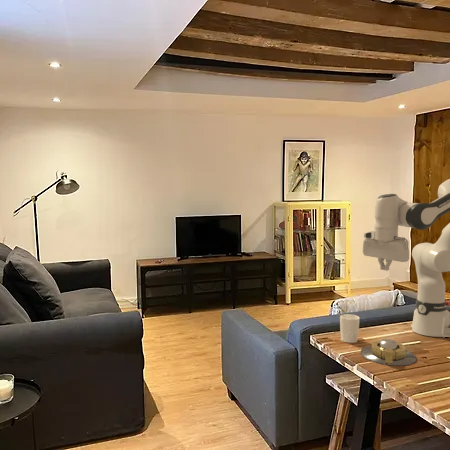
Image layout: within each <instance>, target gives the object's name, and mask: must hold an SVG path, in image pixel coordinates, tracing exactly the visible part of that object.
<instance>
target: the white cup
mask: <svg viewBox="0 0 450 450" xmlns="http://www.w3.org/2000/svg"><path fill="white" fill-rule="evenodd" d="M339 328H340V329H339V330H340V341H341V342H344V343H348V344H353V343H354V344H355V343H357V342H358V339H359V332H360V331H359V330H360V329H359V328H360V316H358V315H356V314H350V313H349V314H348V313H347V314H346V313H345V314H341V315H340V316H339Z"/></svg>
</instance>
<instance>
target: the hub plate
mask: <svg viewBox="0 0 450 450" xmlns="http://www.w3.org/2000/svg"><path fill="white" fill-rule="evenodd" d="M397 343H398V341H396V340H394V339H389V338H384V339H383V338H382V339H380V347H381V348H383V349H385V348H388V349H392V350H395V349H397ZM360 355H361V356H362V357H363V358H365V359H366V360H367V359H368V361H369V362H372V361H373V363H375V362H376V364H379V363H380V365H384V364H385V365H384V366H393V367H394V366H395V367H400V366H401V367H402V366H404V367H405V366H410V365H412V364H415V362H417V356H416V355H415V354H414V353H413V352H411V351H409V350H407V349H406V354H405V358H402V359H398V360H393V361H392V363H385V359H383V358H380V357H377V356H375V355H373V354H372V345H369V346H365V347H363V348H362V349H361V350H360ZM409 364H410V365H409Z"/></svg>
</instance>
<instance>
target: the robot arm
mask: <svg viewBox="0 0 450 450" xmlns="http://www.w3.org/2000/svg"><path fill="white" fill-rule="evenodd" d="M437 196H438V198H436V199H435V200H433V201H432V202H428V203H427V202H408V201H406V200H404V199H402V198H401V197H399V196H398V194H396V193H386V194H381V195H379V196H378V197H377V198H376V201H375V207H374V209H375V210H374V218H375V224H374V229H373V230H371V231H366V232H364V233H363V238H364V239H363V243H362V253H363V255H364V256H365V257H370V258H377V262H378V264H379V265H380V266H379V269H380V270H382V271H386V272H388V271H389V270H390V266H391V265H392V263H393V261H394V262H401V263H406V262H409V260H410V247H409V240H408V239H407V238H406V237H403V236H402V237H401V236H399V226H400V227H404V228H405V227H406V228H412V229H415V230H419V231H424V230H428V229H429V228H430V227H431V226H433V224H435V222H436V221H437V220H438V219H439V218H441V217H442V216H444V215H445V214H448V213H449V212H450V178H449V179H446V180H445V181H443V182H442V183H441V184H440V185H439V186H438V189H437ZM411 257H412V259H413V261H414V264H415V272H416V277H417V298H415V299H416V300H415V307H416V308H415V309H414V311H413V319H412V323H411V324H410V327H411V331H413V332H414V333H416V334H418V335H422V336H425V337H435V338H445V337H450V311H449V310H448V307H450V300H446V281H445V280H444V278H443V274H442V273H447V272H450V222H449V223H448V224H446V226H445V227H444V228H443V229H442V230H441V234H440V236H439V238H438V239H437V241H436V242H435V243H432V242H422V243H418V244H416V245H415V246H414V247H413V248H412V251H411Z"/></svg>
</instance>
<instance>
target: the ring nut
mask: <svg viewBox="0 0 450 450" xmlns="http://www.w3.org/2000/svg"><path fill="white" fill-rule="evenodd" d="M380 340H381V339H380ZM380 340H379V339H378V340H375V341H371V346H372V354H373V355H375V356H377V357H380V358H383V359H385V363H392V361H393V360H398V359H402V358H405V354H406V350H407V349H406V345H405V344H403V343H400V342H397V349H395V350H392V349H388V348H385V349H383V348H381V347H380Z"/></svg>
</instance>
